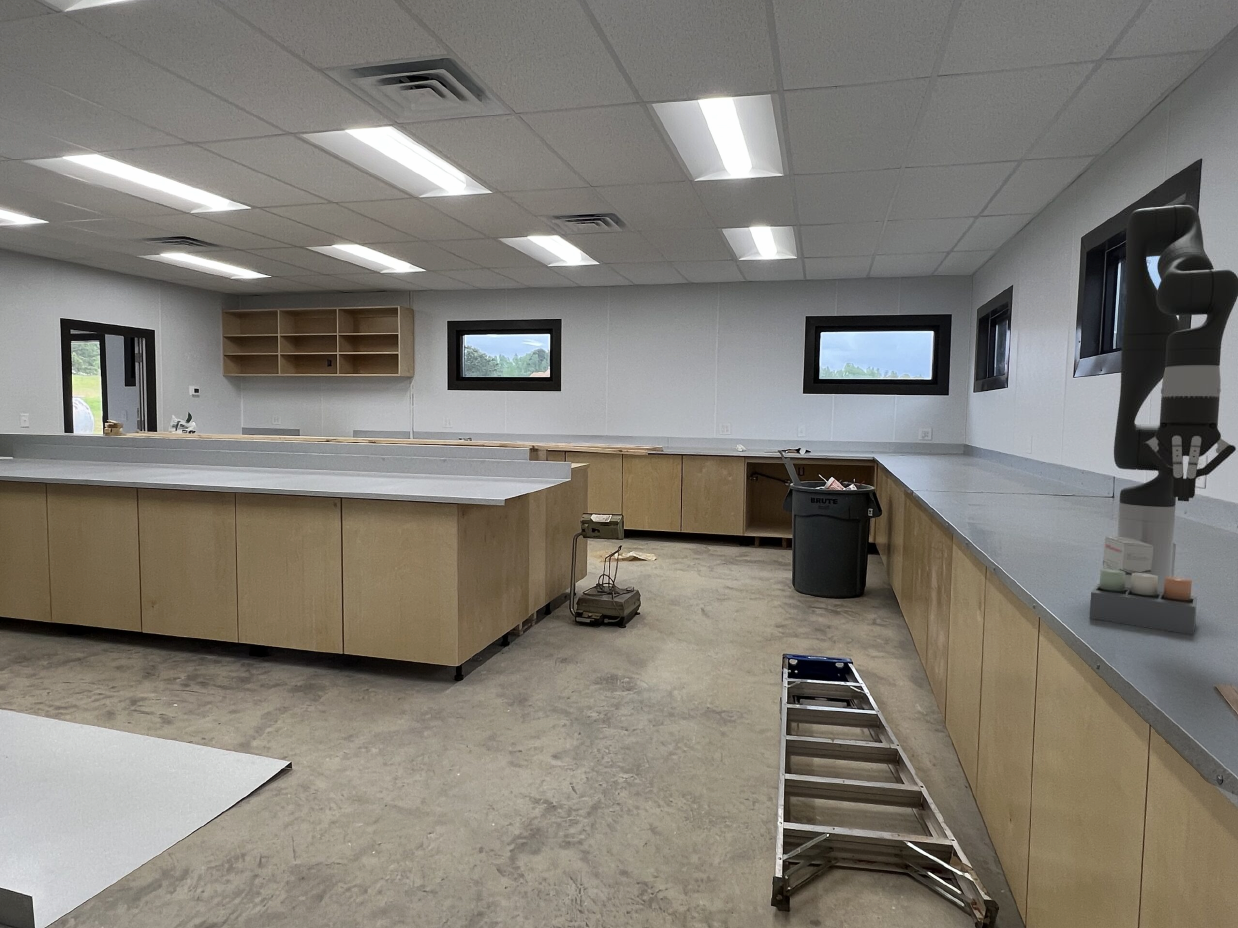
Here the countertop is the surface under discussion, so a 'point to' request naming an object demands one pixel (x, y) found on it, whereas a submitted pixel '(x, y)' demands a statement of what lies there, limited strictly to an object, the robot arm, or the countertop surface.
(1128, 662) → the countertop surface
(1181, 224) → the robot arm
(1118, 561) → the ink box
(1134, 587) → the cream button
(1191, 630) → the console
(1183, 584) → the terracotta button
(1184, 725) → the countertop surface
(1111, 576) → the sage button
